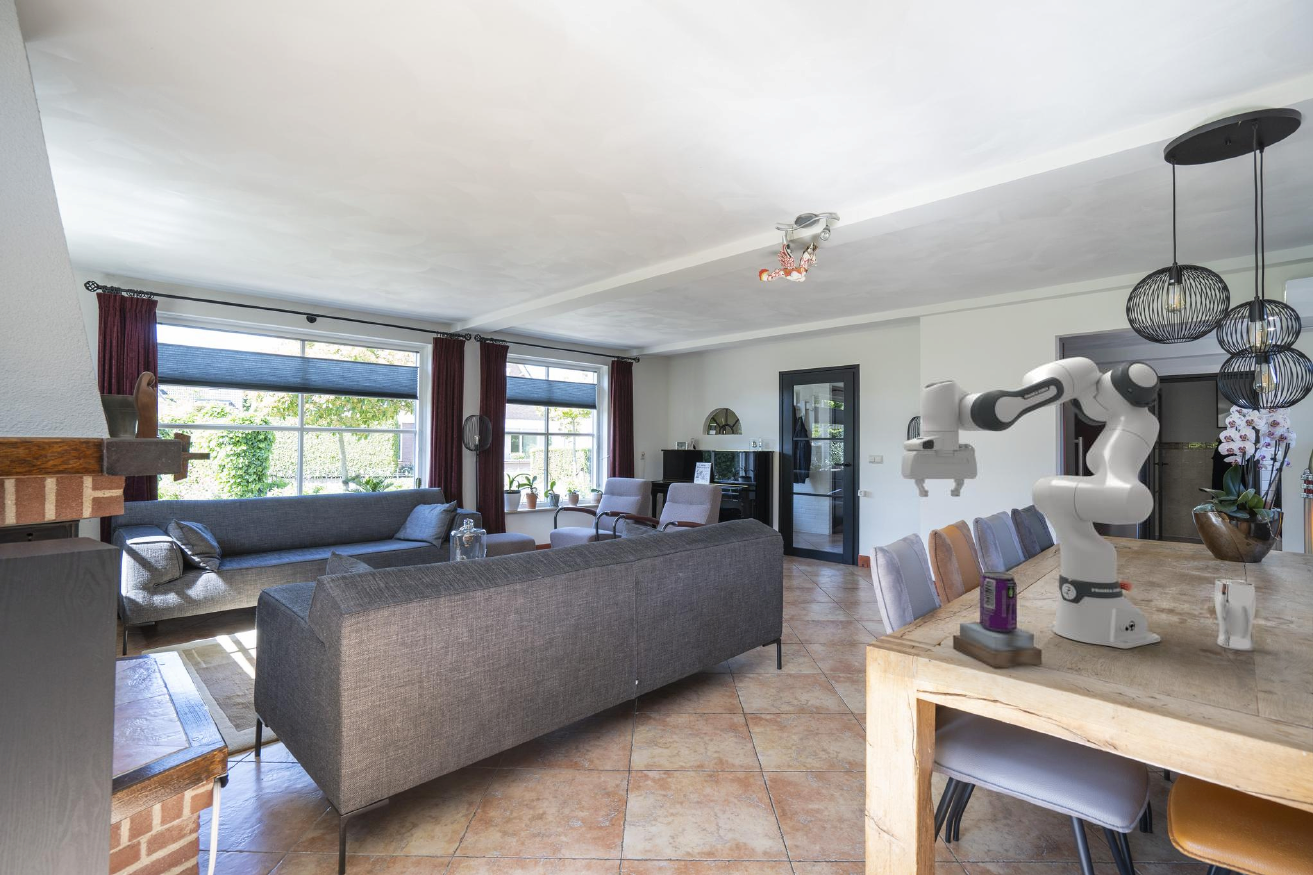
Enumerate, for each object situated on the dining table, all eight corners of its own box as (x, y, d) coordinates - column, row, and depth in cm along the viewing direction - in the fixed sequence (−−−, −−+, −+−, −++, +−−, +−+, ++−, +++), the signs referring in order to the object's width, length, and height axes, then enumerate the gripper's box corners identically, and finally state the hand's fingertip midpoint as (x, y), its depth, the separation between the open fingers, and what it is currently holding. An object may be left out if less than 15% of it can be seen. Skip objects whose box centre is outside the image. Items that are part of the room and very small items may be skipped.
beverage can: (1022, 635, 126) (1022, 578, 126) (985, 632, 128) (985, 576, 128) (1010, 625, 133) (1010, 571, 133) (975, 622, 135) (975, 570, 135)
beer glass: (1247, 644, 140) (1247, 580, 140) (1262, 653, 133) (1262, 586, 134) (1208, 639, 143) (1208, 577, 143) (1221, 648, 136) (1221, 583, 136)
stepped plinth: (997, 644, 138) (997, 619, 138) (1041, 663, 126) (1041, 635, 126) (953, 648, 135) (953, 622, 135) (993, 667, 124) (993, 639, 124)
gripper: (965, 443, 159) (965, 495, 159) (897, 442, 154) (897, 496, 154) (983, 443, 153) (983, 497, 152) (913, 442, 148) (913, 498, 148)
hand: (939, 496), depth 153 cm, fingers open, 8 cm apart
